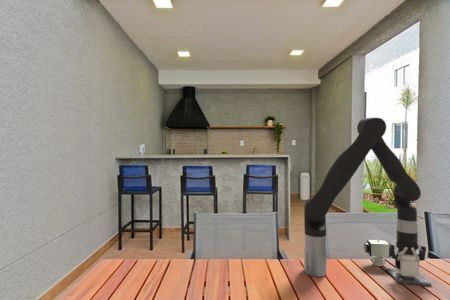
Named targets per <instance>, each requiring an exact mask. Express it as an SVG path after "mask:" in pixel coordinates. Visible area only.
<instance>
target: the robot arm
mask: <svg viewBox="0 0 450 300" xmlns="http://www.w3.org/2000/svg"><path fill="white" fill-rule="evenodd" d="M386 123H387V122H386V121H385V120H384V119H383V118H381V117H378V116H377V117H376V116H373V117H370V116H369V117H365V118H362V119H361V120H360V121H359V122H358V124H357V127H356V130H357V133H358V135H357V137H356V139H355V140H354V142H352V144H351V145H349V147H348V148H346V149H345V150H344V151H343V152H342V153H340V155H338V157H337V158H336V160H335V161H334V162H333V164H332V165H331V166H330V168H329V169H328V172H327V173H326V175H325V177H324V180H323V182H322V185H321V186H320V188H319V189H318V190H317V192H316V194H315V195H314V196H313V197H309V198H308V199H307V200H306V201H305V203H304V215H303V216H304V219H303V220H304V225H303V226H304V248H303V269H304V273H305V276H306V275H308V276H311V277H316V278H323V277H325V276H327V223H326V222H327V221H326V220H327V219H326V218H327V217H326V216H327V214H328V212H329V210H330V208H331V207H332V204H333V202H335V200H336V198H337V196H339V194H340V193H341V192H342V191H343V189H345V187H346V185H348V183H349V182H350V180H351V179H352V178H353V176H354V175H355V173H356V172H357V171H358V170H359V169H358V168H359V167H360V166H361V164H362V163H363V162H364V160H365V158H367V156H368V154H369V153H370V152H371V151H372V152H373V153H374V155H375V156H376V158H377V160H378V162H379V164H380V165H381V167H382V169H383V170H384V172H385V174H386V176H387V178H388V179H389V180H390V182H392V183H394V184H395V185H394V188H393V198H394V201H395V205H396V208H397V210H396V211H397V212H396V213H397V218H396V219H397V220H396V242H395V243H390V242H388V243H389V251H390V258H392V259H393V260H394V266H395V268H396V267H397V268H398V269H400V259H401V256H402V255H404V254H410V255H412V254H413V255H414V256H416V261H418V262H419V263H420V262H424V261H425V257H426V252H427V247H426V246H425V245H423V244H420V245H419V244H418V242H419V240H418V236H419V235H418V229H419V228H418V226H419V225H418V211H417V207H415V206H414V205H412V202H415V201H417V200H419V199H420V198H421V196H422V195H421V194H422V193H421V189H420V187H419V185H418V184H417V182H416V181H415V180H414V179H413V178H412V177H411V176H410V175H409V174H408V173H407V170H406V169H405V168H404V165H403V163H402V162H401V160H400V159H399V158H398V156H397V155H396V154H395V152H393V151H392V149H391V148H390V147H389V146H388V145H387V143H386V142H385V140H384V138H383V136H384V135H385V133H386V131H387V124H386ZM396 248H397V250H396ZM417 250H419V252H418V253H417V252H416V251H417Z"/></svg>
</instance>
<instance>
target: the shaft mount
mask: <svg viewBox="0 0 450 300" xmlns="http://www.w3.org/2000/svg"><path fill="white" fill-rule="evenodd" d="M385 271H386V272H387V273H388V274H389V276H390V277H392V279H393V280H395V282H397V284H399V285H408V286H409V285H411V286H423V287H424V286H426V287H432V283H431V282H430V281H429V280H428V279H426V278H425V277H424V276H423V274H420V273H419V277H416V276H402V275H401V274H400V273H399V272H398V271H397V270H396V268H387V267H386V268H385Z"/></svg>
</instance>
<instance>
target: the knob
mask: <svg viewBox="0 0 450 300" xmlns="http://www.w3.org/2000/svg"><path fill="white" fill-rule="evenodd" d="M395 269H396V270H397V271H398V272H399V273H400V274H401V275H402V276H416V277H419V274H420V261H419V262H418V261H416V256H414V255H413V254H412V255H410V254H404V255H402V256H401V259H400V269H398V268H397V267H396V266H395Z"/></svg>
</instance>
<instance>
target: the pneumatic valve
mask: <svg viewBox="0 0 450 300" xmlns="http://www.w3.org/2000/svg"><path fill="white" fill-rule="evenodd" d="M389 243H390V242H389V241H387V240H380V239H376V240H375V239H366V242H364V243H363V250H364V253H367V255H369V257H372V258H371V263H372V264H373V265H374V266H377V267H384V266H385V264H386V260H385V259H384V258H391V256H390V251H389Z"/></svg>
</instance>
